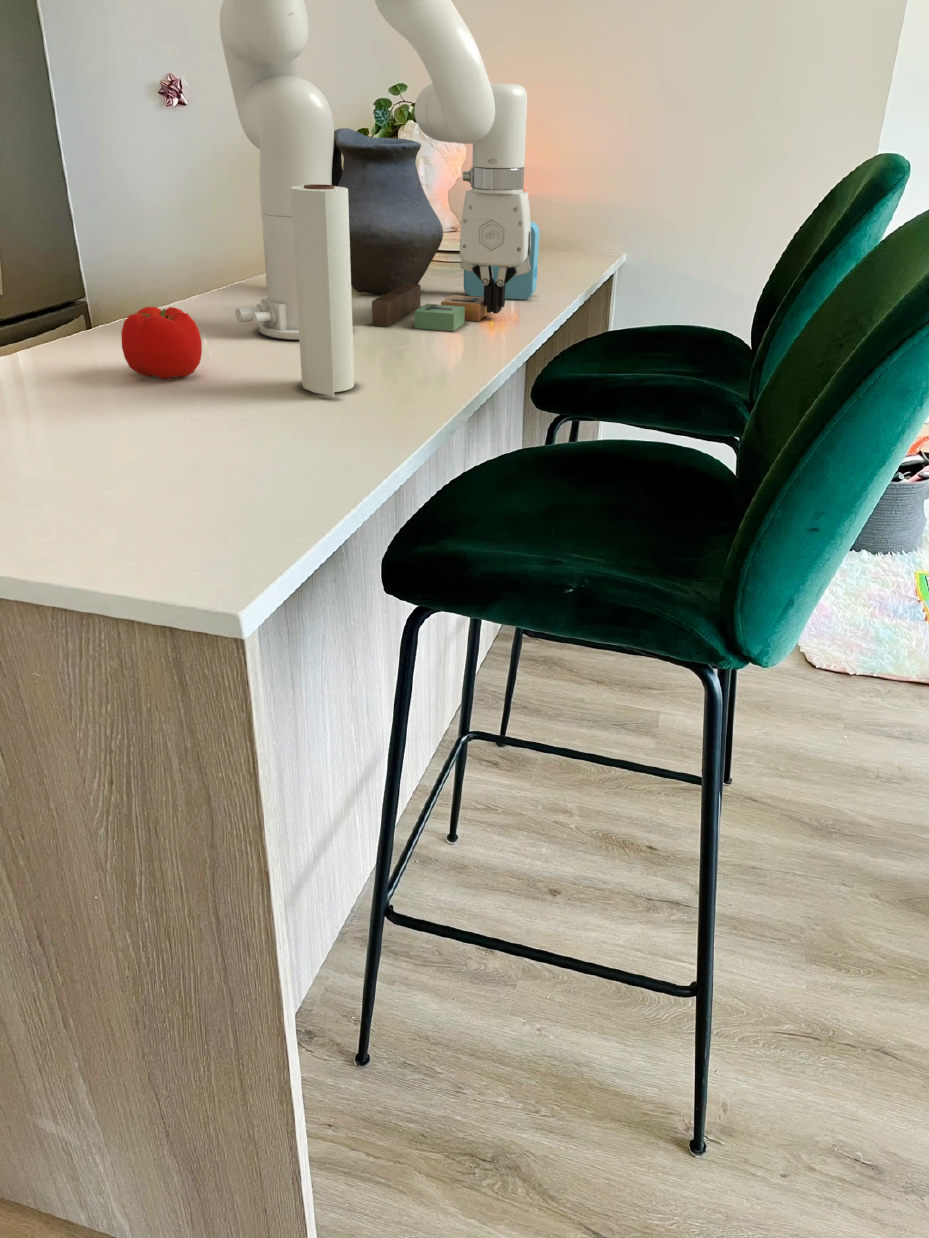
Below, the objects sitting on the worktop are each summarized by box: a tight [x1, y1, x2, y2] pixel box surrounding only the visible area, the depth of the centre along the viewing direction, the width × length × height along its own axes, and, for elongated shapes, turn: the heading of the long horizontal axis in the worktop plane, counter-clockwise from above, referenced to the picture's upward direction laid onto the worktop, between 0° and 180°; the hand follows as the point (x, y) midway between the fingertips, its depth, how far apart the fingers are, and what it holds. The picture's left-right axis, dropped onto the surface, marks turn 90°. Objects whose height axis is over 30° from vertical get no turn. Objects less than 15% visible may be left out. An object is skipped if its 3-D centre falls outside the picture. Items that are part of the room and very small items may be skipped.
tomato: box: [120, 306, 203, 380], centre depth 111 cm, size 9×9×8 cm
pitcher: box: [332, 127, 444, 296], centre depth 159 cm, size 21×22×25 cm
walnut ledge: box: [371, 283, 422, 327], centre depth 146 cm, size 16×2×4 cm, turn 165°
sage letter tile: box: [414, 303, 466, 332], centre depth 140 cm, size 6×6×3 cm
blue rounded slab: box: [463, 220, 540, 301], centre depth 160 cm, size 12×4×12 cm, turn 78°
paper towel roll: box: [290, 184, 355, 398], centre depth 104 cm, size 7×6×21 cm
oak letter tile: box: [440, 294, 489, 322], centre depth 147 cm, size 6×6×3 cm
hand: (494, 311), depth 146 cm, fingers closed
